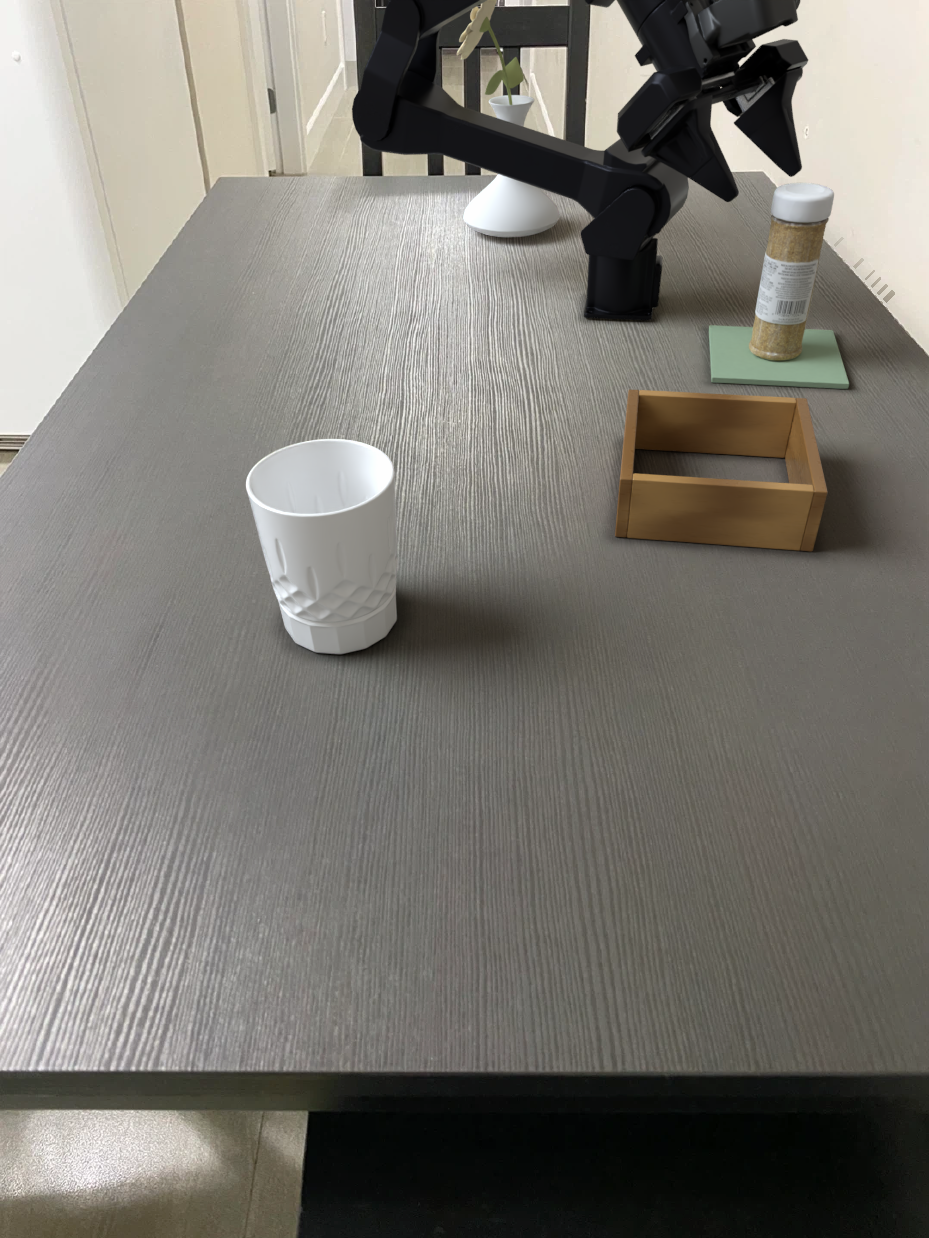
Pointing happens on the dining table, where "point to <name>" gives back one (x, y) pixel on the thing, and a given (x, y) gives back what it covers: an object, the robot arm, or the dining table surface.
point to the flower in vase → (504, 199)
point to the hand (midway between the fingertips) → (766, 185)
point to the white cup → (329, 541)
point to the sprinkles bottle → (790, 269)
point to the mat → (806, 370)
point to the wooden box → (721, 503)
